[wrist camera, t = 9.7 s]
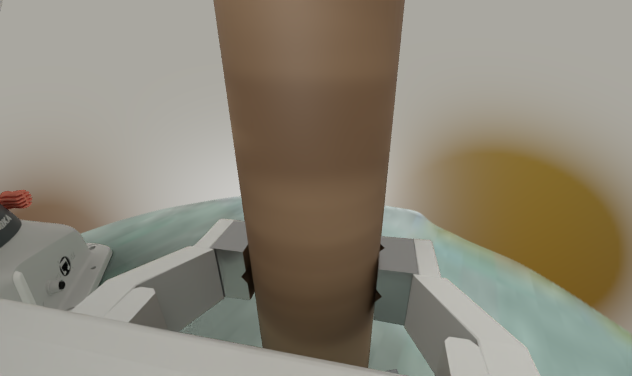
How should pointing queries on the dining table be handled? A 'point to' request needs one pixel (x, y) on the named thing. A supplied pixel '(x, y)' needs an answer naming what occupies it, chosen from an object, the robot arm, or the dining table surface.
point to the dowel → (312, 161)
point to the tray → (393, 371)
